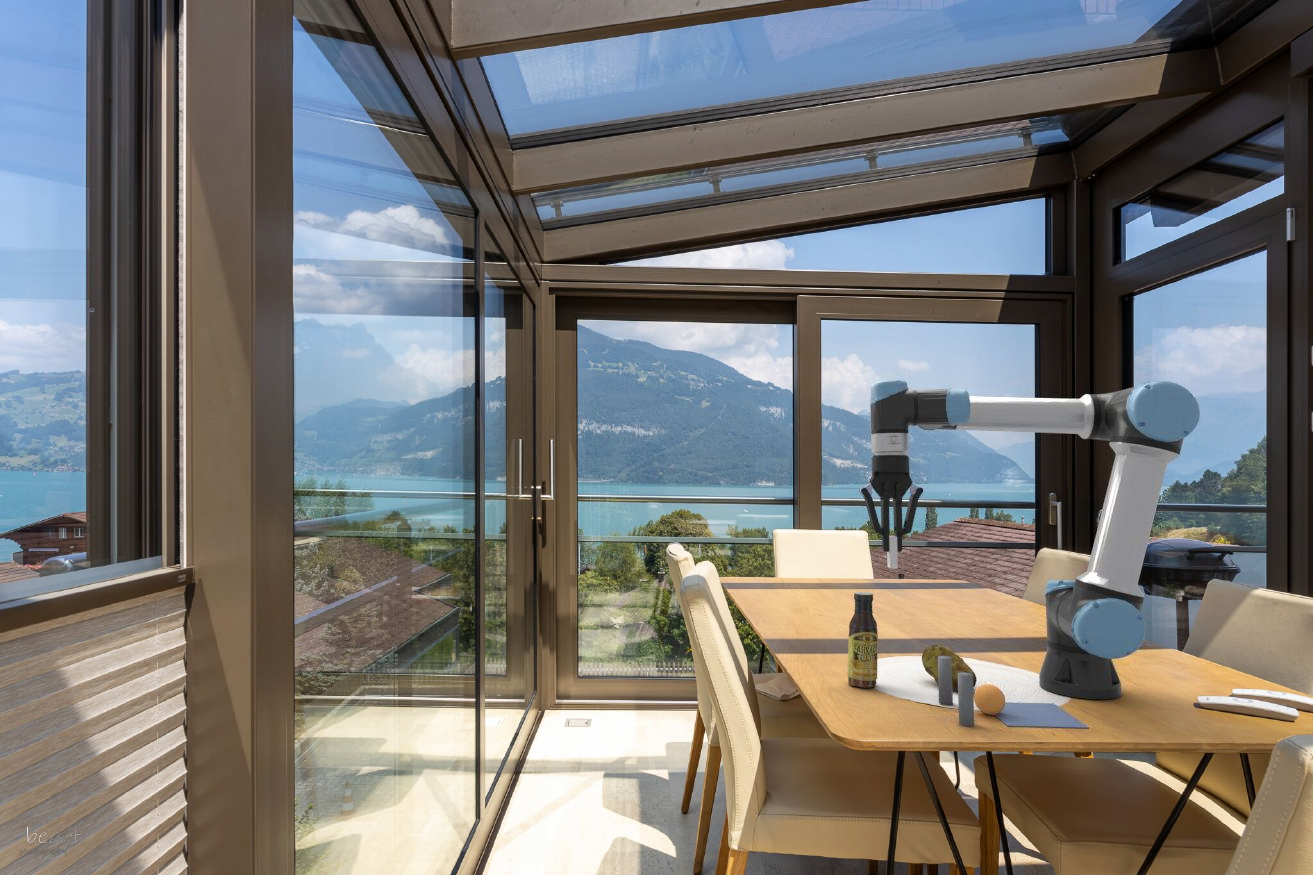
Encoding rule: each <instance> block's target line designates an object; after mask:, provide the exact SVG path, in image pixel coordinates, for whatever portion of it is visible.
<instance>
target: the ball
mask: <svg viewBox="0 0 1313 875" xmlns="http://www.w3.org/2000/svg"><path fill="white" fill-rule="evenodd" d="M973 694H974V705H975V706H976V708H977V709H978V710H979V711H980V712H981V713H984V714H986V715H989V716H992V715H994V716H995V714H998V713H1000V712H1001V711H1002V710H1003V709H1004V707H1005V702H1006V697H1005V694H1004V693H1003V691H1002V690H1001V689H1000V688H999V687H997V685H993V684H989V683H986V684H982V685H980V686H979V687H977V688H976V689H975V691H974V692H973Z"/></svg>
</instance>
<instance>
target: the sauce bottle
mask: <svg viewBox="0 0 1313 875" xmlns="http://www.w3.org/2000/svg"><path fill="white" fill-rule="evenodd" d="M853 599H854V614H853V615H852V618H851V619H850V620H849V624H848V625H849V626H848V640H847V641H848V645H847V680H848V684H849V685H850V686H852V687H856V688H860V689H861V688H863V689H868V688H870V689H871V688H874V687H876V685H877V680H878V659H879V658H878V656H879V655H878V654H879V653H878V652H879V651H878V650H879V649H878V648H879V647H878V644H879V643H878V641H879V635H878V634H879V633H878V625H877V624H878V623H877V620H876V619H875V617H874V615H873V613H874V612H873V601H874V594H873V593H871V592H864V591H856V592H854V593H853Z"/></svg>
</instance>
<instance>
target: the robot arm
mask: <svg viewBox="0 0 1313 875" xmlns="http://www.w3.org/2000/svg"><path fill="white" fill-rule="evenodd" d="M869 406H870V431H871V432H870V433H871V436H870V437H871V439H870V440H871V441H870V442H871V443H870V444H871V453H872V454H873V455H872V457H871V477H870V479H869V483H868V484H866V485H865V486H864V487H860V488H859V493H860V495H861V496H862V497H863V499H864V503H865V506H866V510H867V514H868V518H869V521H870V526H871V529H872V532H874V533H876V534H878V535H880V536H881V549H882V551H883V552H886V553H887V554H886V555H887V556H886V558H887V559H886V560H887V564H886V565H887V568H889V569H894V570H895V569H898V568H899V564H898V563H899V562H898V561H899V558H898V553H901V552H902V551H903V536H905V535H908V534H911V532H912V529H913V525H914V521H915V518H916V517H915V516H916V511H917V507H918V504H919V503H918V502H919V499H920V498H921V496H922V494H923V493H924V488H923V487H919V486H918V485H916V484H915V483H913V480H912V478H911V476H910V474H911V473H910V457H909V455H907V453H909V451H910V448H909V447H910V445H909V427H910V426H912V427H915V426H917V427H918V428H919V429H922V430H924V431H934V430H943V431H944V430H946V431H951V430H954V431H958V430H959V431H983V432H986V431H987V432H1011V433H1015V432H1017V433H1038V434H1039V433H1040V434H1041V433H1044V434H1072V435H1074V434H1075V435H1078V436H1079V437H1080V438H1081V439H1082V440H1099V441H1109V444H1108V445H1109V446H1110V448H1111V449H1112V450H1113V452H1114V453H1115V458H1114V462H1113V465H1112V469H1111V473H1110V477H1109V481H1108V484H1107V485H1108V486H1107V489H1106V493H1105V497H1104V502H1103V505H1102V510H1101V512H1100V513H1101V514H1100V517H1099V522H1098V526H1097V531H1096V534H1095V538H1094V542H1093V547H1092V550H1091V553H1090V558H1089V562H1088V566H1087V569H1086V571H1085V572H1083V573H1082V574H1080V575H1077V576H1076V579H1075V580H1073V579H1072V580H1069V579H1068V580H1067V579H1062V580H1061V579H1051V580H1048V581H1047V582H1046V584H1045V593H1044V598H1045V613H1046V615H1045V618H1046V621H1045V622H1046V640H1047V644H1046V645H1047V648H1046V650H1047V651H1046V653H1045V656H1044V660H1043V662H1042V665H1041V668H1040V671H1039V676H1038V677H1039V678H1038V679H1039V686H1040V687H1041V688H1043V689H1044V690H1046V691H1048V692H1052V693H1054V694H1057V695H1061V696H1065V697H1066V696H1067V697H1070V698H1071V697H1072V698H1077V699H1084V700H1085V699H1086V700H1113V699H1117V698H1119V697H1121V696H1122V694H1123V693H1122V692H1123V691H1122V682H1121V679H1120V677H1119V675H1118V672H1117V669H1116V666H1115V664H1114V662H1113V660H1116V659H1117V660H1118V659H1122V658H1126V657H1128V656H1131V655H1132V654H1134V653H1135V652H1136V651H1138V650H1139V649H1140V648H1141V646H1142V644H1144V642H1145V639H1146V635H1147V624H1146V621H1145V619H1144V616H1143V615H1142V614H1141V612H1142V608H1143V605H1144V599H1145V594H1144V592H1143V591H1142V590H1141V587H1139V580H1140V576H1141V572H1142V568H1143V564H1144V559H1145V556H1146V553H1147V552H1146V551H1147V548H1148V544H1149V540H1150V537H1151V536H1150V535H1151V531H1152V528H1153V523H1154V519H1155V515H1156V511H1157V507H1158V503H1159V499H1160V495H1161V491H1162V486H1163V483H1164V479H1165V475H1166V470H1167V467H1168V464H1169V463H1172V462H1173V461H1175V460H1176V459H1178V458H1180V455H1181V450H1182V448H1183V447H1182V446H1183V443H1184V439H1185V438H1187V437H1188V436H1190V434H1192V432H1194V431H1195V430H1196V428H1197V425H1198V423H1199V421H1200V418H1201V417H1200V415H1201V414H1200V413H1201V412H1200V411H1201V410H1200V406H1199V403H1198V401H1197V399H1196V397H1194V395H1193V394H1192V393H1191V392H1190V390H1188V389H1187V388H1186V387H1185V386H1182V385H1181V384H1178V383H1177V382H1172V381H1168V380H1157V381H1154V380H1153V381H1145V382H1143V383H1141V384H1139V385H1137V386H1133V387H1129V388H1126V389H1122V390H1117V391H1114V392H1113V391H1112V392H1106V393H1098V394H1097V393H1096V394H1095V393H1094V394H1091V393H1089V394H1087V393H1085V394H1084V395H1082V396H1081V397H1080V398H1059V397H1058V398H1056V397H1055V398H1054V397H1053V398H1051V397H1049V398H1048V397H1011V396H1010V397H1005V396H1003V397H1001V396H998V397H995V396H970V393H969V392H968V390H967V389H964V388H950V387H949V388H938V389H917V390H916V389H910V388H909V387H908V383H907V381H906V380H901V379H887V380H886V379H885V380H880V381H878V380H877V381H876V382H874V383H873V384H872V385H871V387H870V404H869ZM872 489H873V490H874V492H875V493H876V494H877V496H878V497H879V498H880V499H879V500H880V501H879V503H880V521H879V518H878V514H877V510H876V506H875V503H874V500H873V497H872V495H873V490H872ZM908 491H909V494H910V496H909V499H908V503H907V508H906V513H905V517H904V522H903V497H904V496H905V494H906V493H907V492H908ZM890 499H892V506H893V509H892V510H893V511H892V513H893V534H894V535H891V534H890V530H891V529H890V528H891V527H890V526H891V525H890V502H891V501H890Z"/></svg>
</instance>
